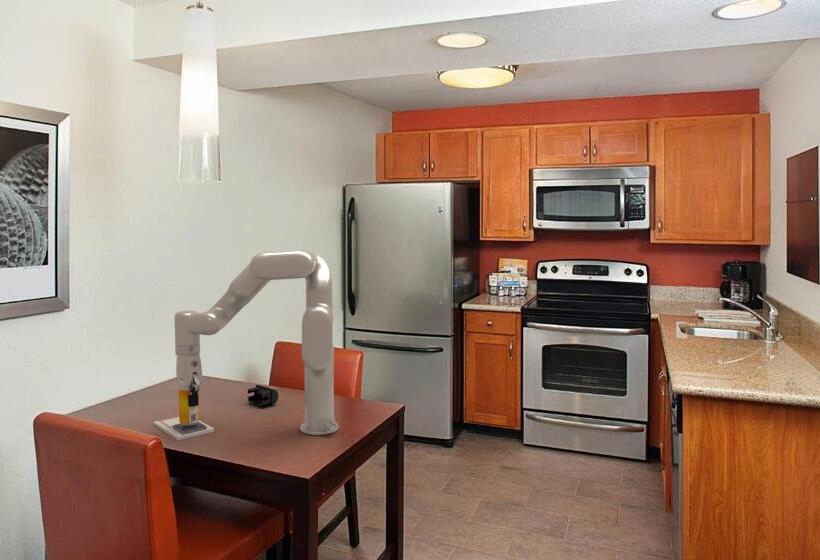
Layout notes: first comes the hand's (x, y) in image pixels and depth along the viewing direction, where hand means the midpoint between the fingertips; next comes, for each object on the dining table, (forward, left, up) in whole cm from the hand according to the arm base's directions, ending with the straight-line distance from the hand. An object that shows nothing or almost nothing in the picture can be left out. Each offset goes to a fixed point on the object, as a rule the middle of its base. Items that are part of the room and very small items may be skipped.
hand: (189, 403), depth 199 cm
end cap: (+11, -33, -10) cm, 36 cm away
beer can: (0, 0, -7) cm, 7 cm away
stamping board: (+5, 0, -10) cm, 11 cm away
